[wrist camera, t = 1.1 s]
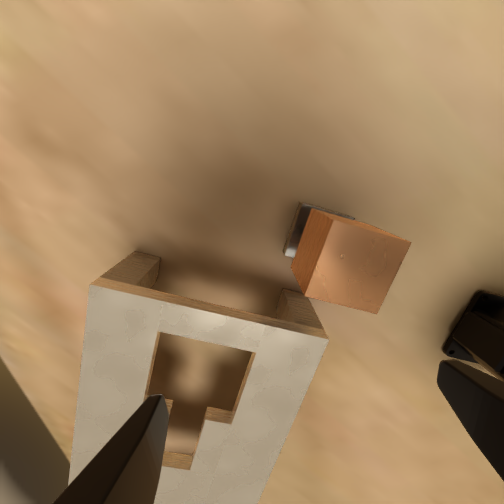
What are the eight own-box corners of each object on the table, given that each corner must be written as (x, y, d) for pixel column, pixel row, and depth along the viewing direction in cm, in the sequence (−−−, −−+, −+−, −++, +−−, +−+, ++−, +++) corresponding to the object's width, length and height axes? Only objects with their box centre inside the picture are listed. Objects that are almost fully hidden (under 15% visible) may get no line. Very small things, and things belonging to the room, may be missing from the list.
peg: (349, 216, 19) (411, 242, 12) (330, 264, 20) (376, 313, 13) (299, 201, 19) (333, 219, 12) (282, 251, 20) (304, 296, 13)
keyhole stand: (306, 293, 21) (329, 339, 15) (247, 446, 26) (248, 524, 20) (134, 251, 20) (89, 284, 14) (107, 422, 25) (66, 498, 19)
